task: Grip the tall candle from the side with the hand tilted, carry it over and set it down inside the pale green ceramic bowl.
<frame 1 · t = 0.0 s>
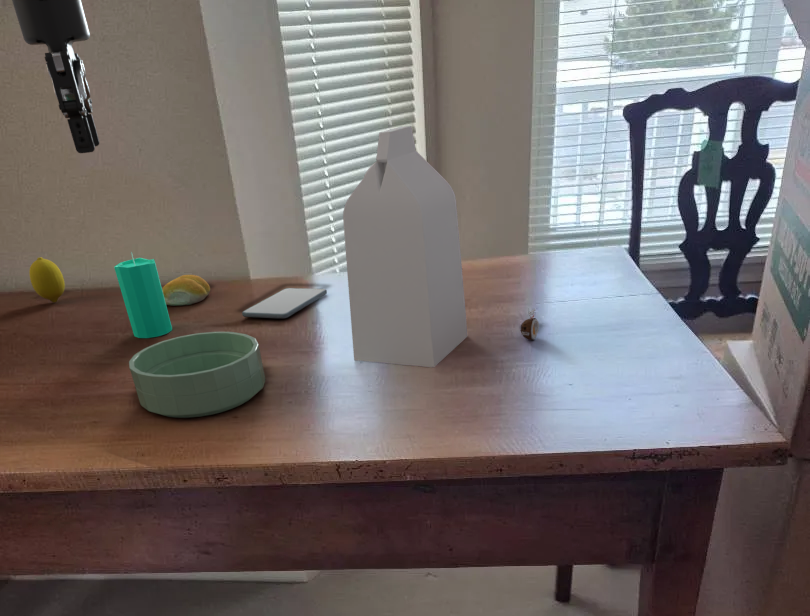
hand: (89, 149, 94), 26 cm above the table, tool pointing down, fingers open, 8 cm apart
bowl: (204, 395, 90), on the table
lemon: (55, 303, 135), on the table
bread roll: (187, 300, 129), on the table
chocolate: (529, 340, 98), on the table
smartphone: (286, 306, 120), on the table
candle: (153, 333, 115), on the table
milk: (412, 349, 99), on the table
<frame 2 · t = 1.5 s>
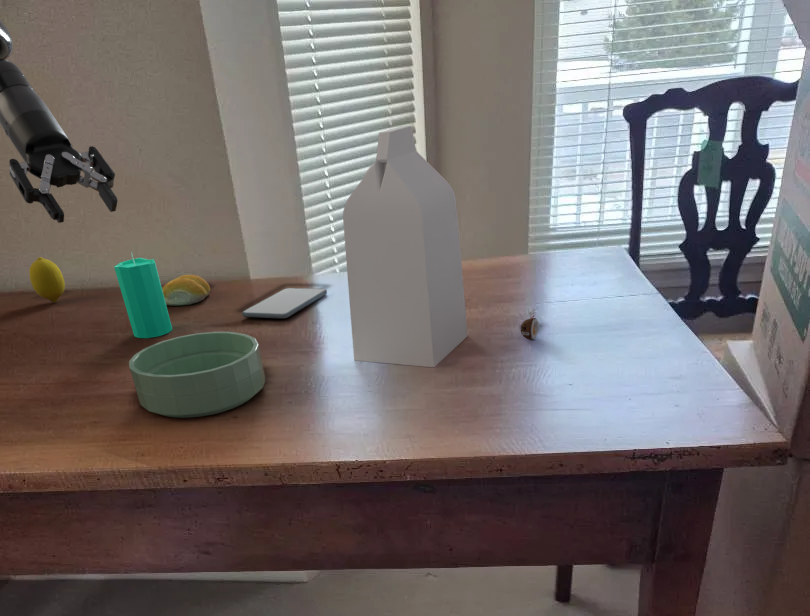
hand: (88, 213, 112), 17 cm above the table, tool tilted 45°, fingers open, 8 cm apart
nothing on the table moved.
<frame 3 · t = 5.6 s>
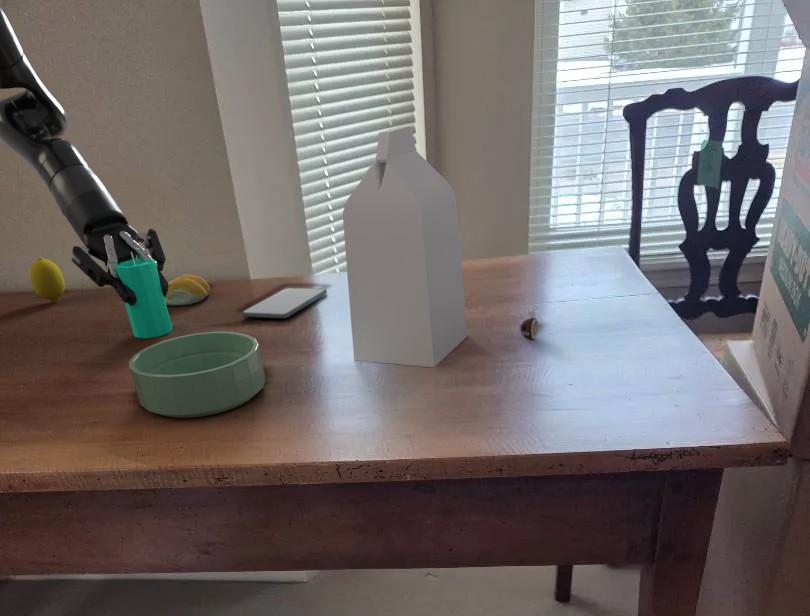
hand: (149, 297, 110), 6 cm above the table, tool tilted 45°, fingers closed on candle, 4 cm apart
candle: (153, 333, 115), on the table, touching gripper
everything else where it was.
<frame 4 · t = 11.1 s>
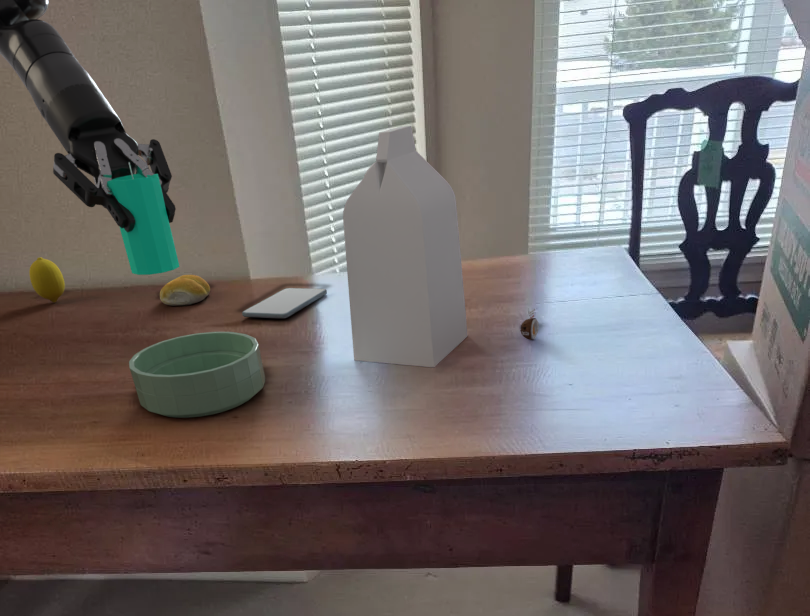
hand: (151, 222, 88), 19 cm above the table, tool tilted 45°, fingers closed on candle, 4 cm apart
candle: (156, 270, 92), point 13 cm above the table, touching gripper
everything else where it was.
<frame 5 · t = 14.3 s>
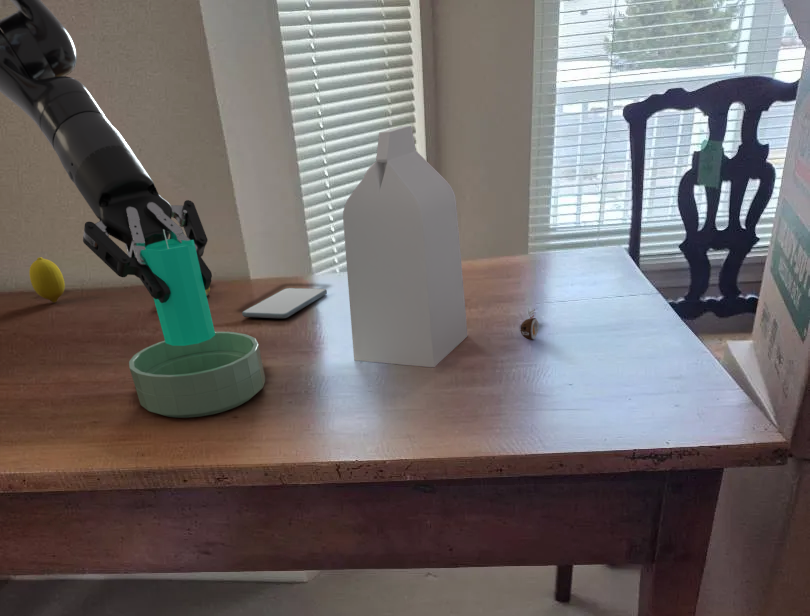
hand: (187, 291, 82), 13 cm above the table, tool tilted 45°, fingers closed on candle, 4 cm apart
candle: (190, 338, 87), point 7 cm above the table, touching gripper
everything else where it was.
when the fingers open (6 cm above the table, at t = 16.5 s): candle stays where it is, resting on bowl.
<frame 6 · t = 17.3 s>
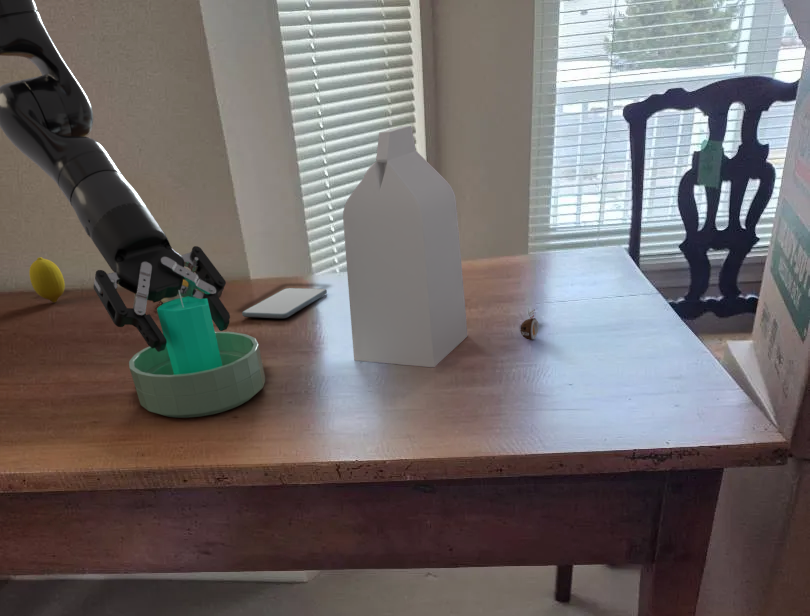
hand: (195, 336, 85), 8 cm above the table, tool tilted 45°, fingers open, 8 cm apart
candle: (203, 390, 90), point 1 cm above the table, touching bowl
everything else where it was.
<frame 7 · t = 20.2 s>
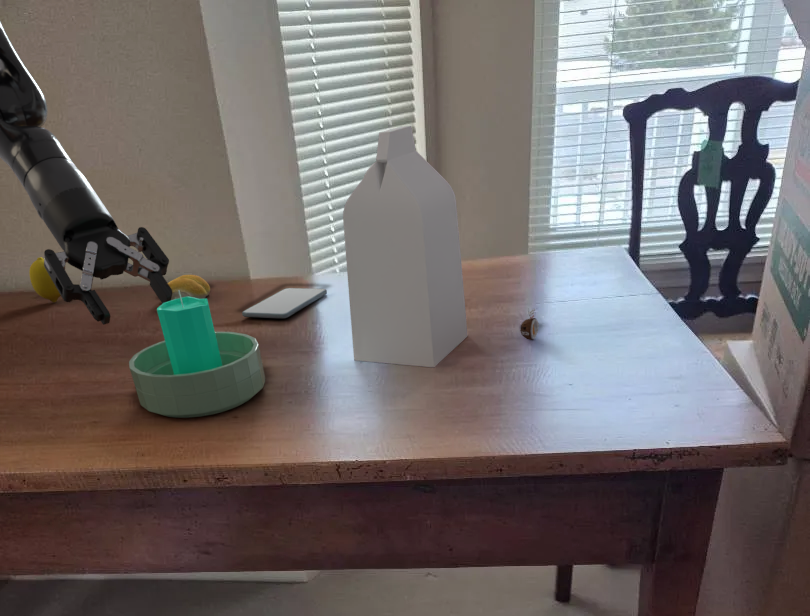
hand: (138, 310, 93), 9 cm above the table, tool tilted 45°, fingers open, 8 cm apart
nothing on the table moved.
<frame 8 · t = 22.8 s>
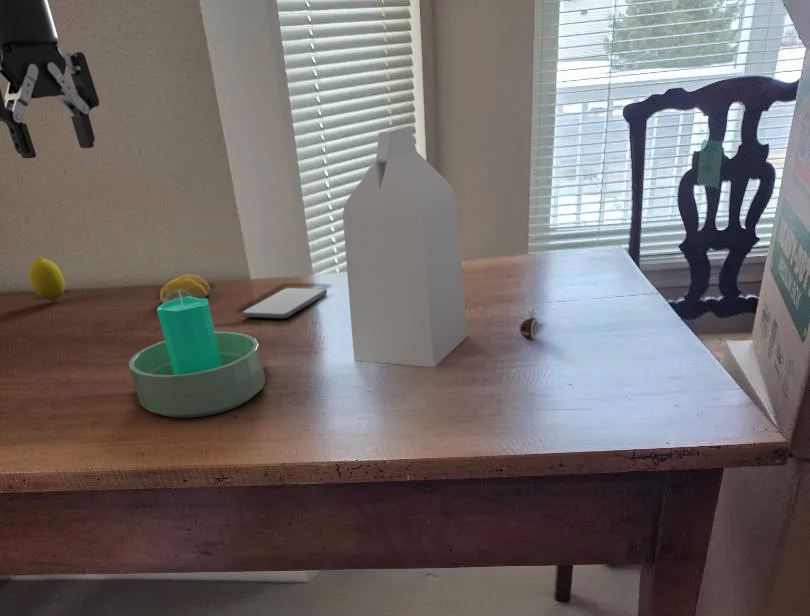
hand: (59, 152, 94), 26 cm above the table, tool pointing down, fingers open, 8 cm apart
nothing on the table moved.
at the end: candle inside the target area in the bowl (0.1 cm from its centre), point 0.6 cm above the bowl's base; the gripper is holding nothing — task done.
